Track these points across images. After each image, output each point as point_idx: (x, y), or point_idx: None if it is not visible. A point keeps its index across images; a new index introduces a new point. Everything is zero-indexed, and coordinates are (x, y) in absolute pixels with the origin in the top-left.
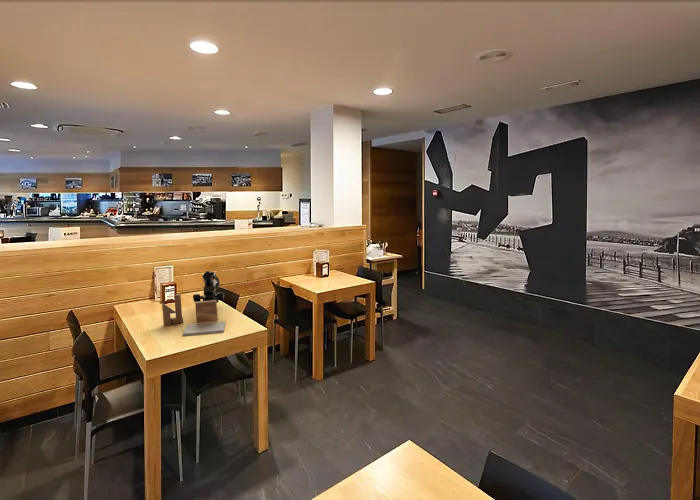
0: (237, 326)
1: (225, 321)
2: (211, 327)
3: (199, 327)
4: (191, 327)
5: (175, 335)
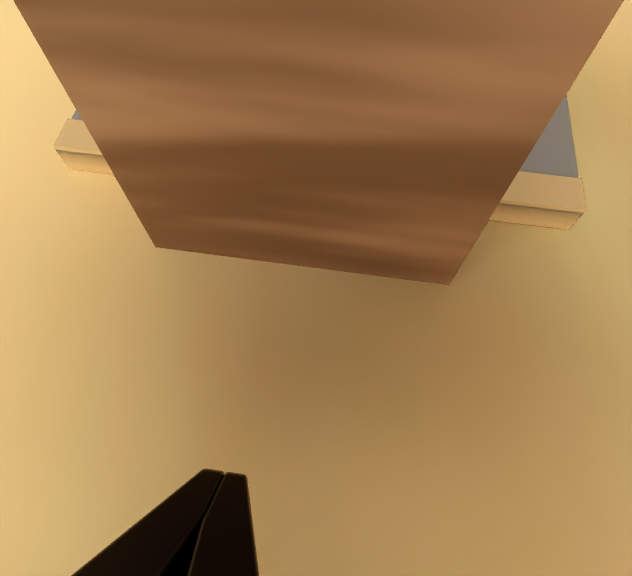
0: (4, 20)
1: (66, 128)
2: None
3: None
4: None
5: None
